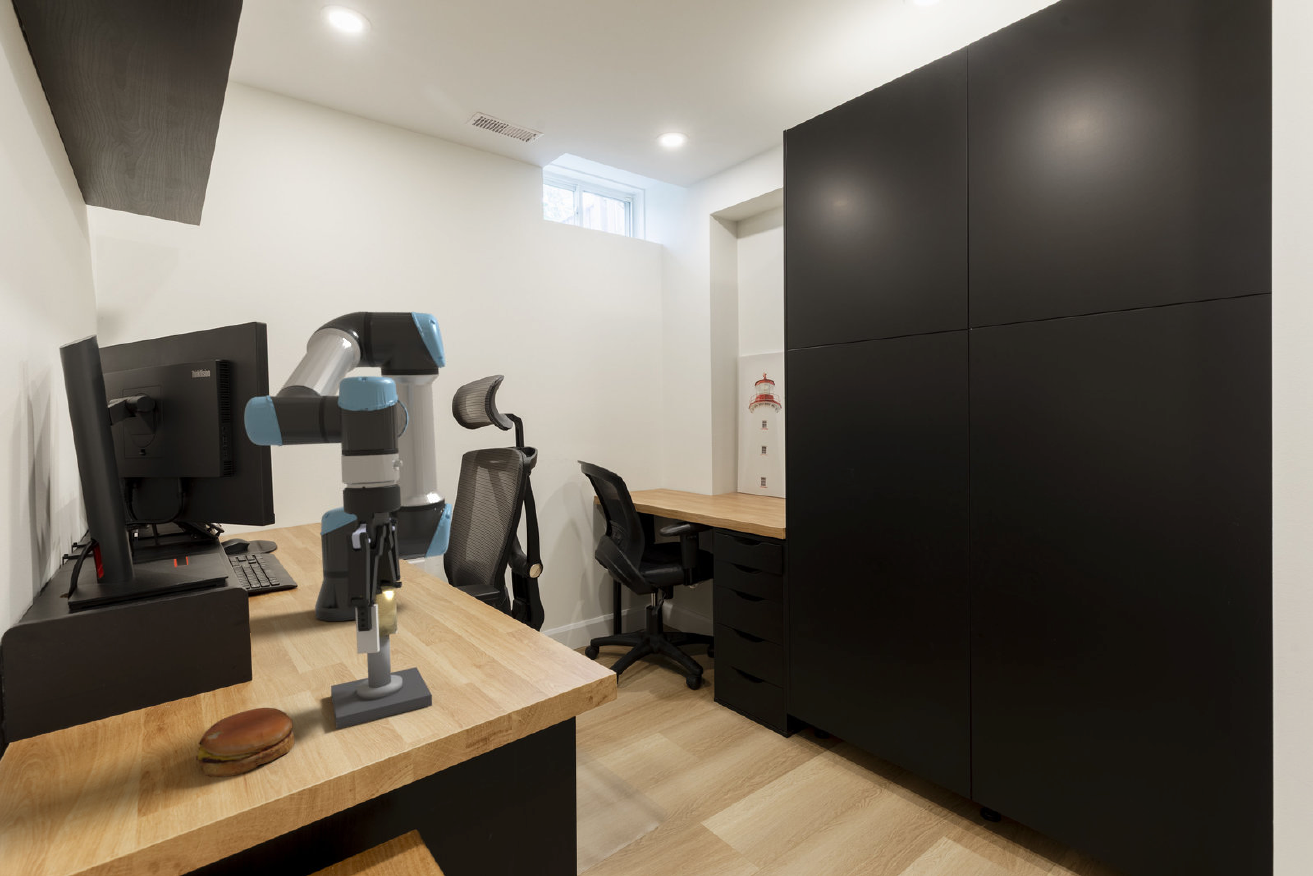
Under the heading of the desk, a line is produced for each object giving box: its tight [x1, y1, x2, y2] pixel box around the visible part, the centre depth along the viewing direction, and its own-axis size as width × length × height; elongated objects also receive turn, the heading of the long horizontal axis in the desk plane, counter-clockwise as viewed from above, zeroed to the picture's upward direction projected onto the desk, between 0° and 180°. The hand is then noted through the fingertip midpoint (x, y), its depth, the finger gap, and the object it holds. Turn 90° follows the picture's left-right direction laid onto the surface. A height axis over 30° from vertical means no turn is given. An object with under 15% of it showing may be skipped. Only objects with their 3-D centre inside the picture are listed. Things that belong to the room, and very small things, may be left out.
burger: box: [195, 707, 295, 778], centre depth 74 cm, size 10×9×5 cm
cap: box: [375, 583, 398, 637], centre depth 88 cm, size 5×5×7 cm
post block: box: [330, 635, 433, 730], centre depth 88 cm, size 12×12×10 cm
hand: (378, 642), depth 88 cm, fingers open, 7 cm apart
